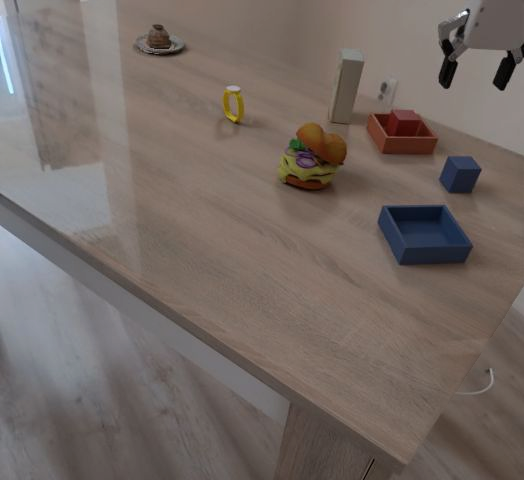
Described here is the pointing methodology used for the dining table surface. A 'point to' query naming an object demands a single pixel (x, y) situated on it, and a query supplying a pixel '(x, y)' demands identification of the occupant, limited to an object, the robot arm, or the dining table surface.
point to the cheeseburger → (312, 157)
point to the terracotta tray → (391, 144)
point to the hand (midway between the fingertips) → (470, 86)
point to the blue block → (460, 174)
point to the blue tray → (423, 234)
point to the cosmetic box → (345, 85)
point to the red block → (402, 123)
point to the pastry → (160, 40)
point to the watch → (240, 105)
